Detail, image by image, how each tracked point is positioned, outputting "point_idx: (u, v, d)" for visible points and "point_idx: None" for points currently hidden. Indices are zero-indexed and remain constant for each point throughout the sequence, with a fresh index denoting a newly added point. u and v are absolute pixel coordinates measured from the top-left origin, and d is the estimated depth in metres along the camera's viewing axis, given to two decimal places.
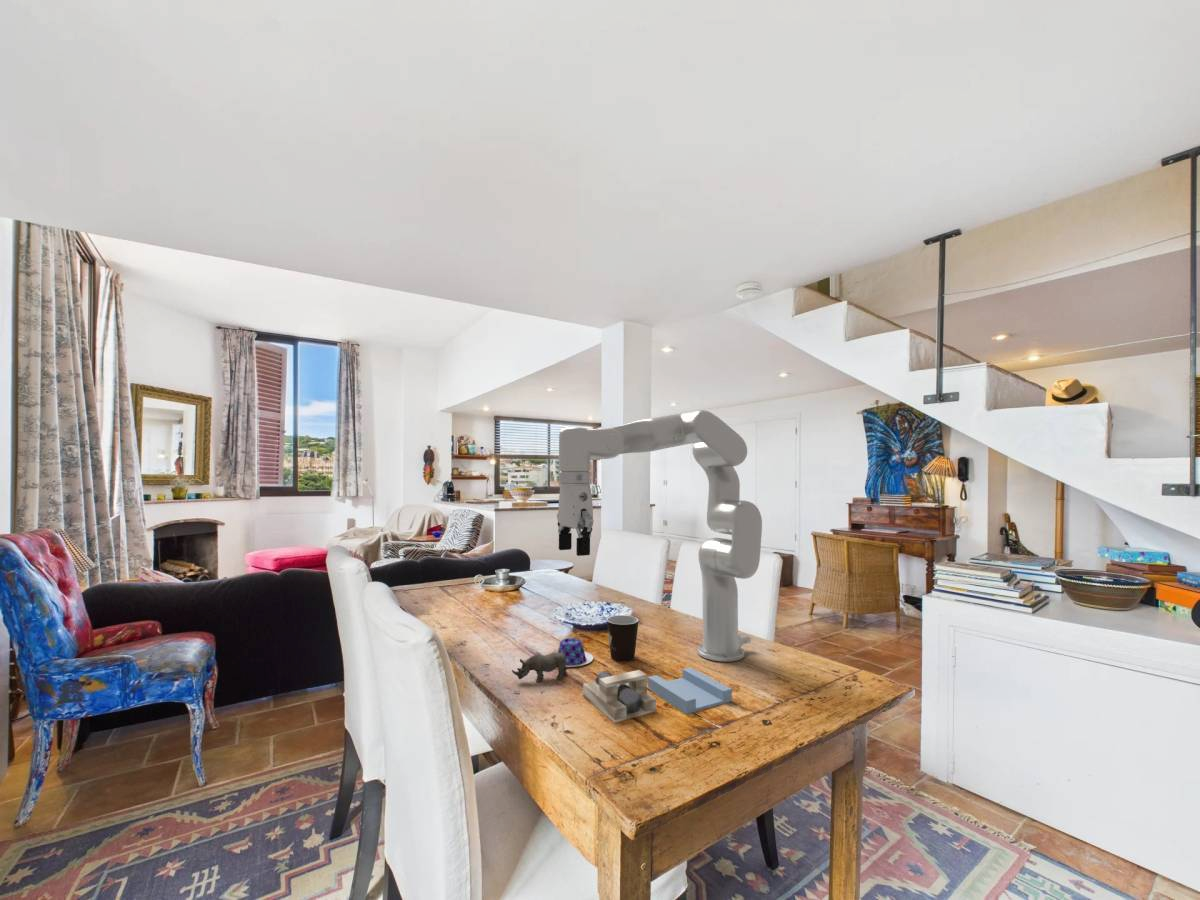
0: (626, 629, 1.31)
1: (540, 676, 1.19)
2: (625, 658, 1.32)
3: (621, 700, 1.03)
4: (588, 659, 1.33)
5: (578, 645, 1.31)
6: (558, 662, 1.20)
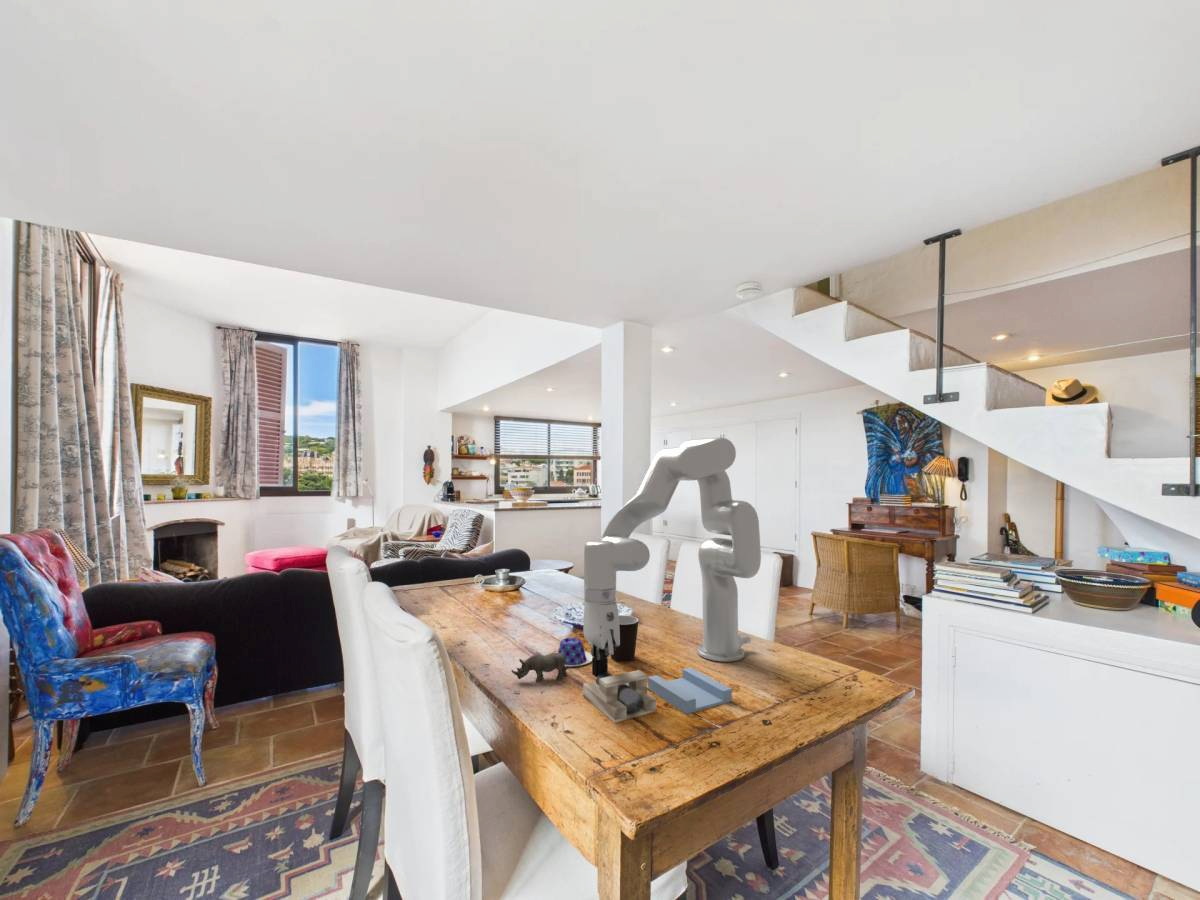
0: (626, 629, 1.31)
1: (539, 676, 1.19)
2: (625, 658, 1.32)
3: (622, 700, 1.03)
4: (588, 659, 1.33)
5: (578, 645, 1.31)
6: (558, 662, 1.20)
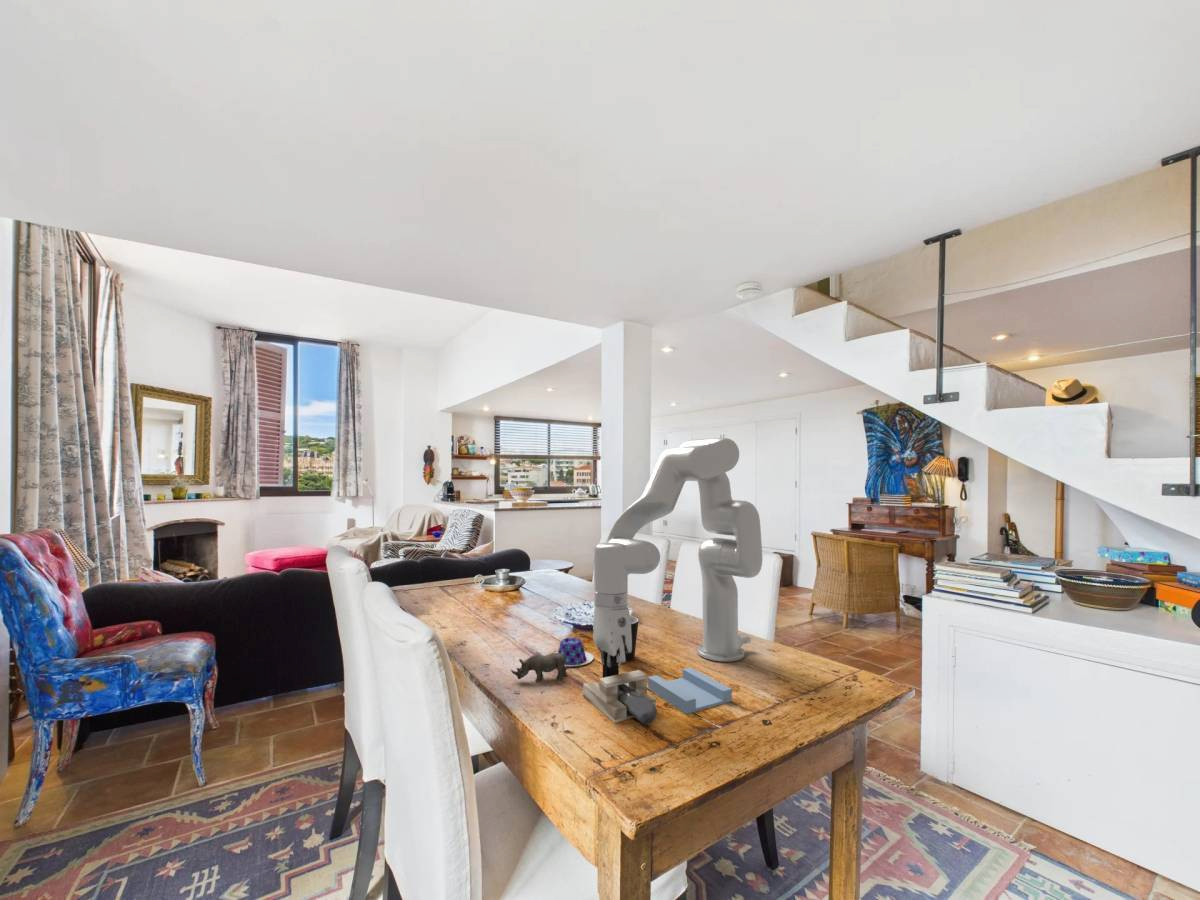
0: None
1: (539, 676, 1.19)
2: (625, 658, 1.32)
3: (635, 710, 0.98)
4: (588, 659, 1.33)
5: (578, 645, 1.31)
6: (557, 662, 1.20)
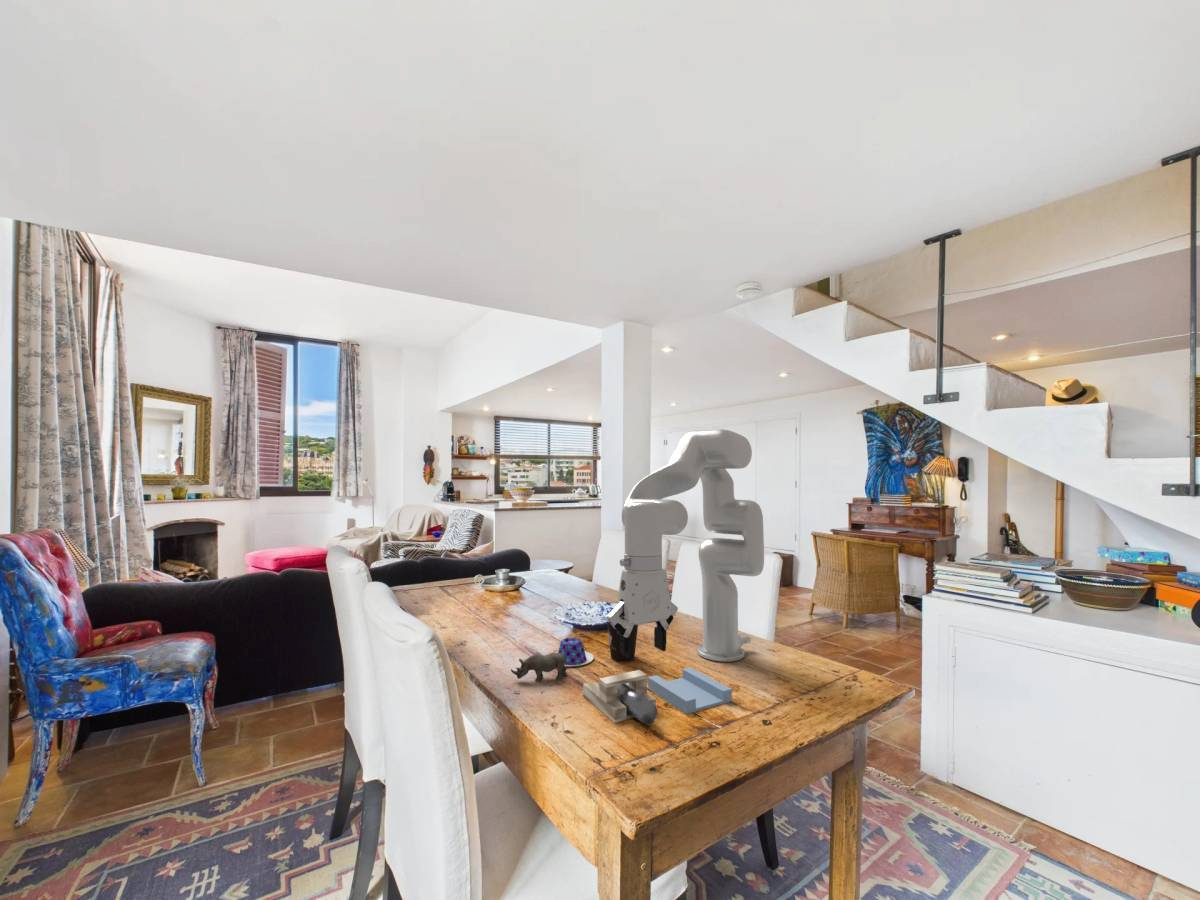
0: None
1: (539, 676, 1.19)
2: (625, 658, 1.32)
3: (636, 710, 0.98)
4: (588, 658, 1.33)
5: (579, 645, 1.32)
6: (557, 662, 1.20)
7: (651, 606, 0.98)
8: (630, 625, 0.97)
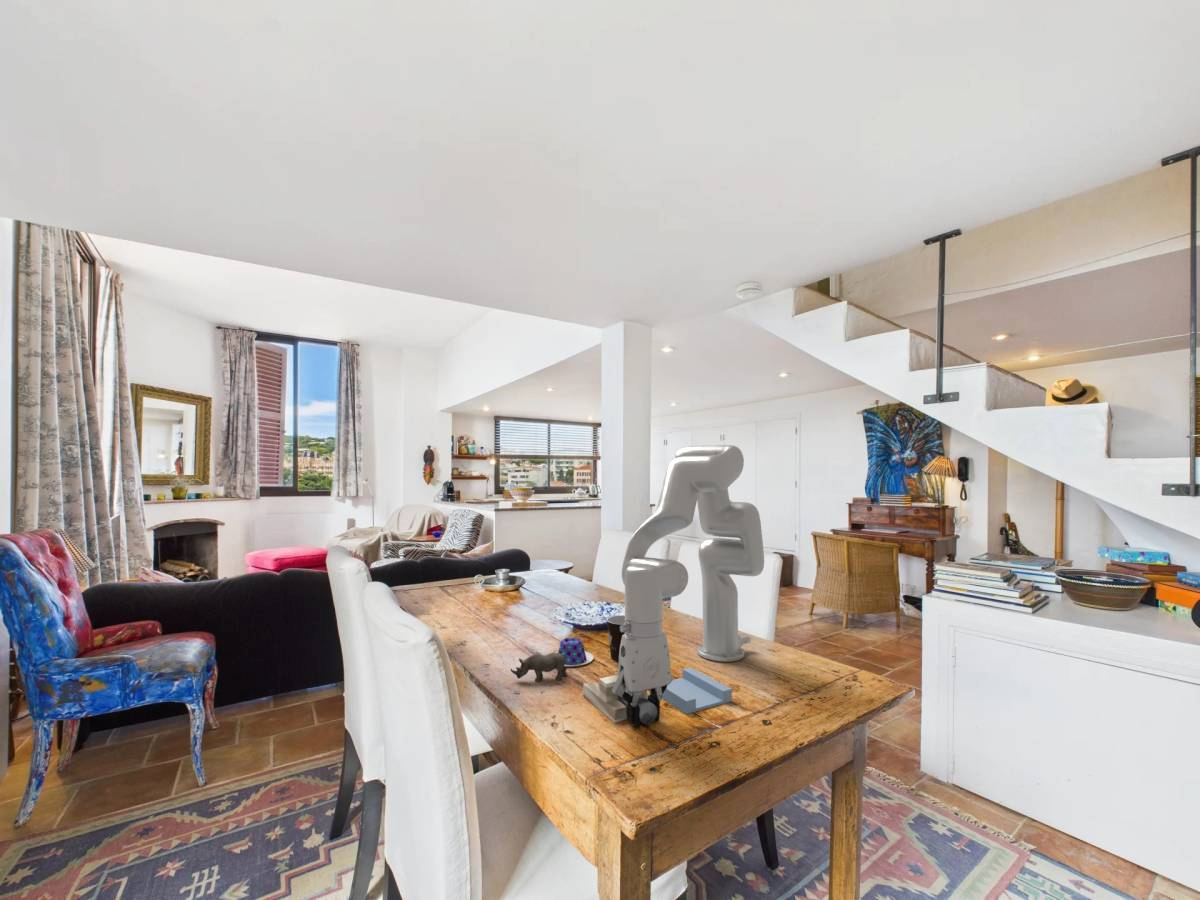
0: None
1: (539, 676, 1.19)
2: None
3: None
4: (588, 658, 1.34)
5: (579, 644, 1.32)
6: (557, 662, 1.20)
7: (651, 673, 0.97)
8: (635, 694, 0.97)
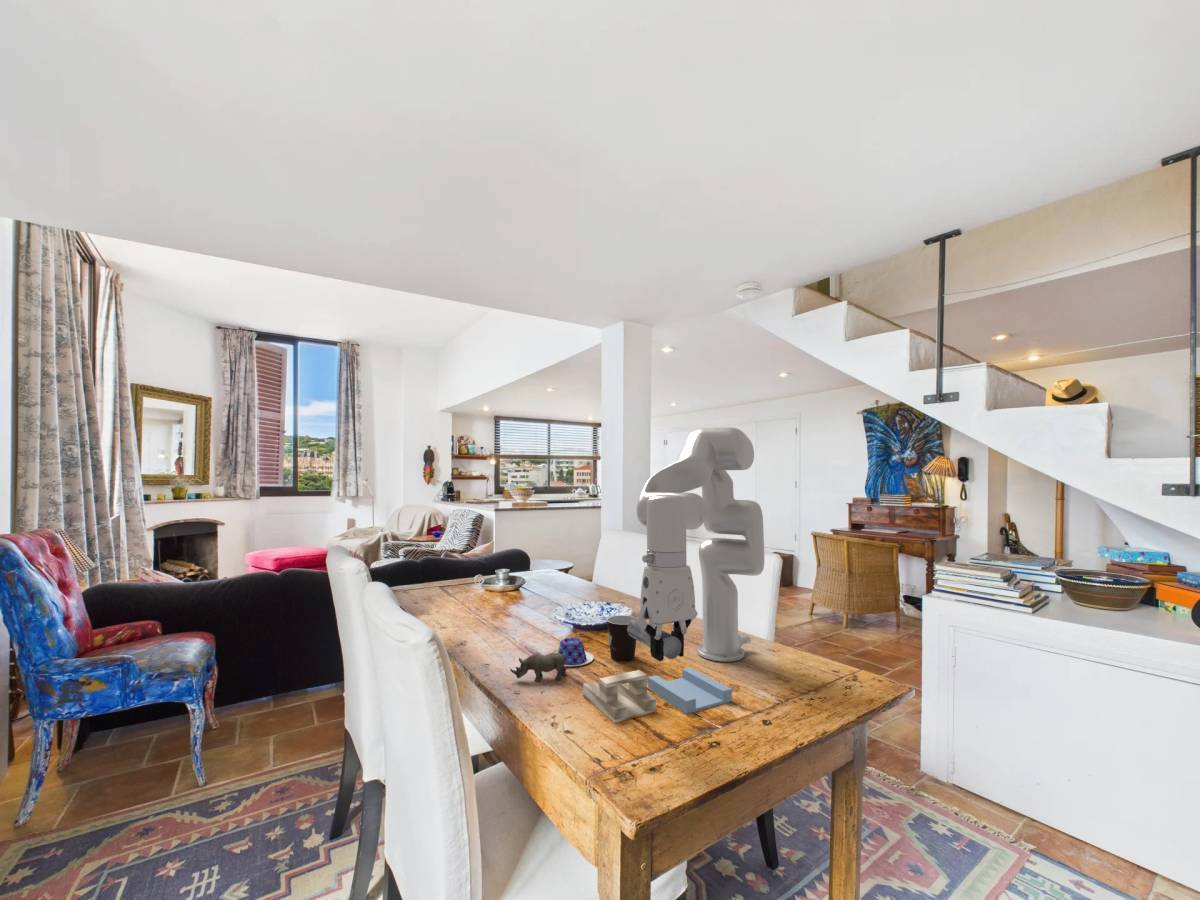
0: (626, 629, 1.31)
1: (538, 676, 1.19)
2: (625, 658, 1.32)
3: None
4: (588, 658, 1.34)
5: (580, 644, 1.32)
6: (556, 662, 1.20)
7: (676, 604, 0.93)
8: (659, 626, 0.92)
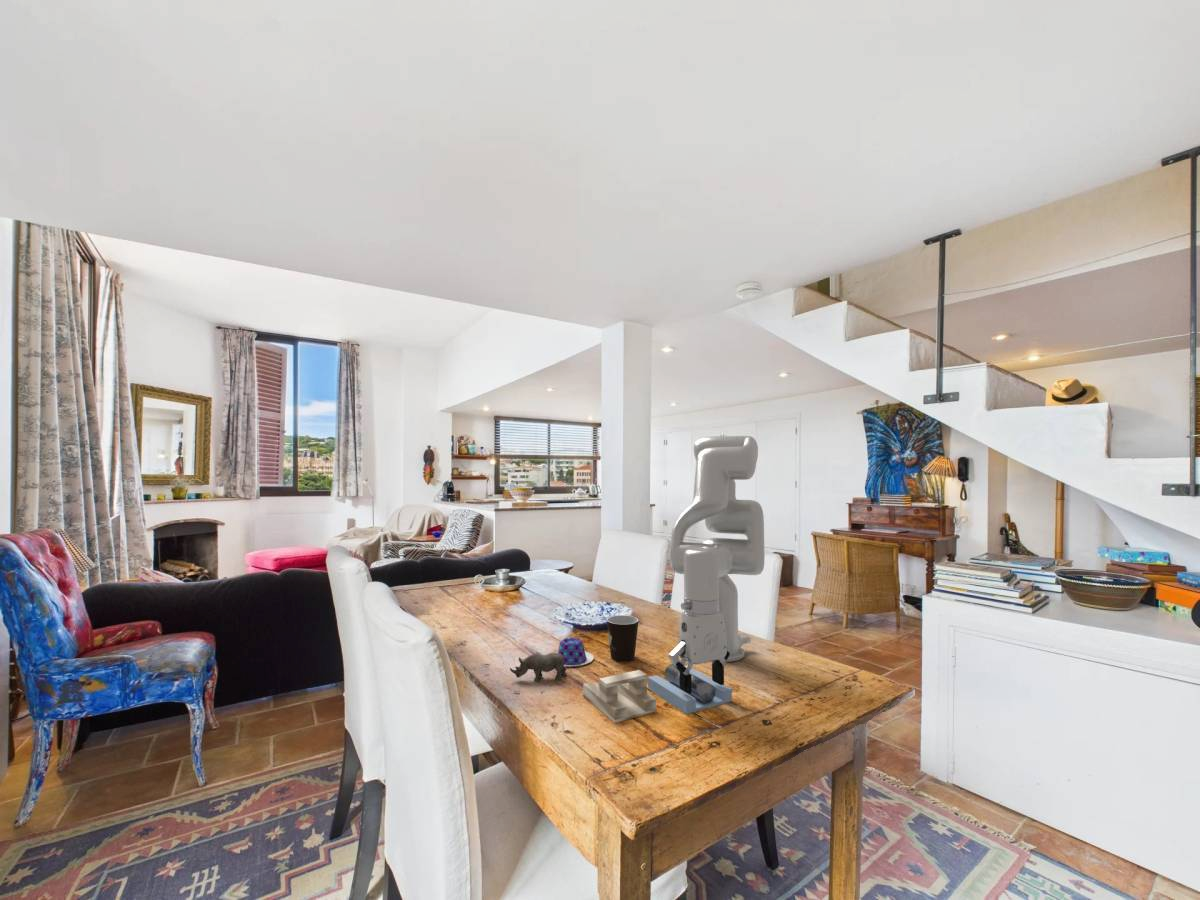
0: (626, 629, 1.31)
1: (538, 676, 1.19)
2: (625, 658, 1.32)
3: (696, 691, 1.07)
4: (588, 657, 1.34)
5: (580, 644, 1.32)
6: (556, 662, 1.20)
7: (710, 646, 1.06)
8: (690, 663, 1.05)
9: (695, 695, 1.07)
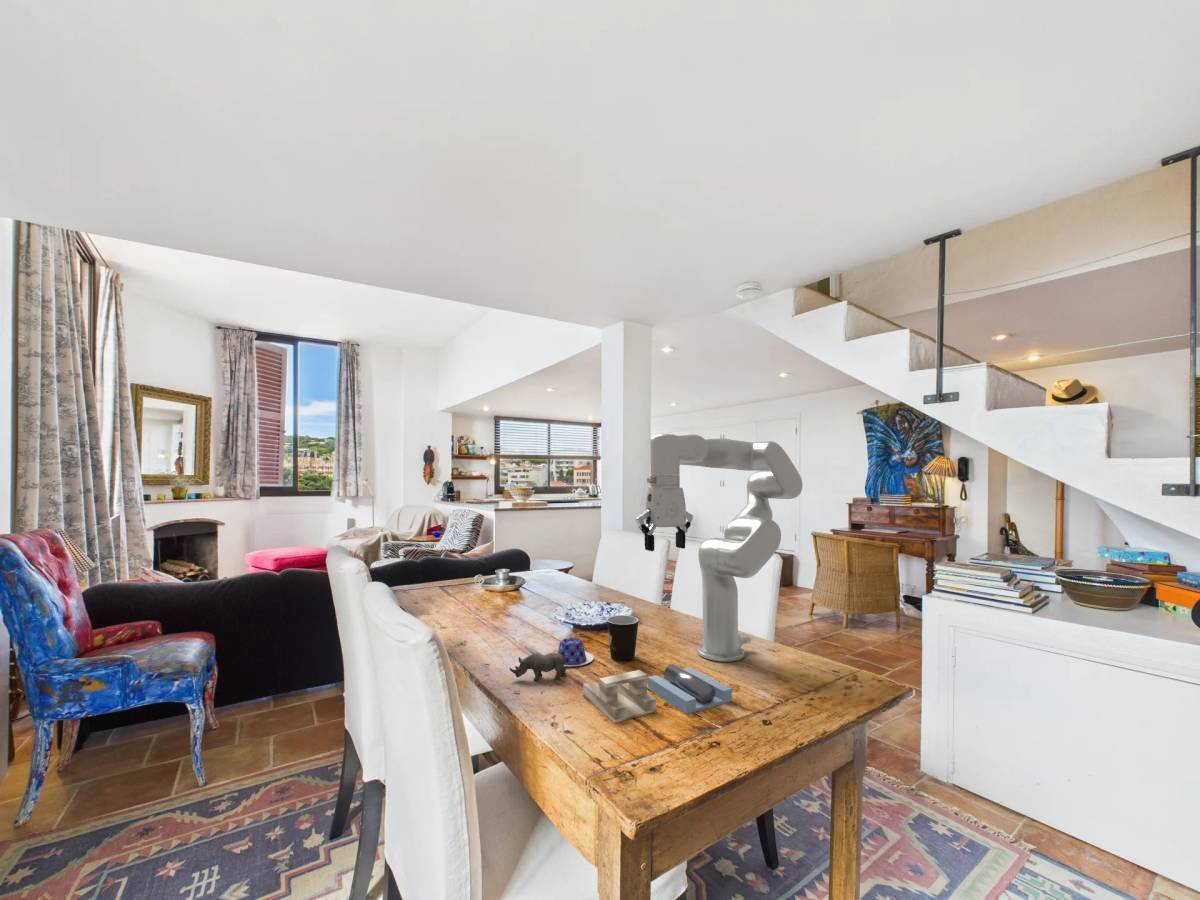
0: (626, 629, 1.31)
1: (537, 676, 1.19)
2: (625, 658, 1.32)
3: (695, 691, 1.07)
4: (587, 656, 1.35)
5: (581, 644, 1.32)
6: (555, 662, 1.20)
7: (671, 514, 1.26)
8: (653, 526, 1.24)
9: (695, 695, 1.07)
